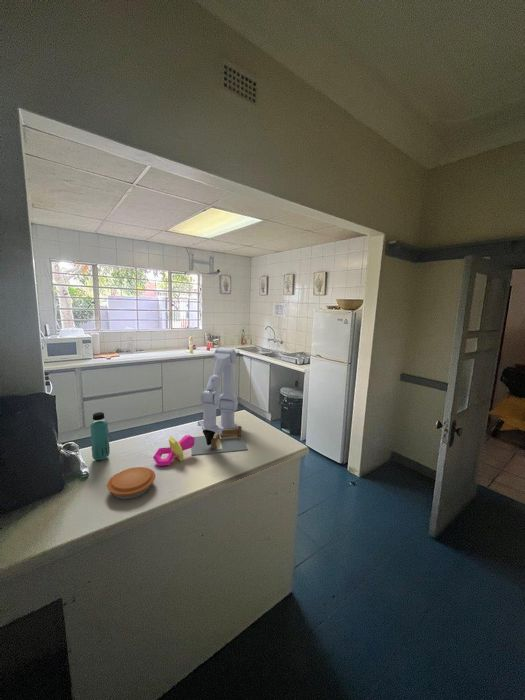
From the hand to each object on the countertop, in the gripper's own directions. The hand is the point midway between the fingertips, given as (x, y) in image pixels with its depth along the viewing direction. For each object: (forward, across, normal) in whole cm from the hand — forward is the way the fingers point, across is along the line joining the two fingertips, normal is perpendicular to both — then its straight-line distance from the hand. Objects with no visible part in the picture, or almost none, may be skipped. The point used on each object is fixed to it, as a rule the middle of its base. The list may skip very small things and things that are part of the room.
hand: (209, 444), depth 128 cm
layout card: (+2, 0, +5) cm, 6 cm away
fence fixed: (+2, -1, +13) cm, 13 cm away
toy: (+2, -4, -16) cm, 16 cm away
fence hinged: (+1, 0, +3) cm, 3 cm away
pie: (+2, +2, -37) cm, 37 cm away
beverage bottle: (+2, -26, -36) cm, 45 cm away
